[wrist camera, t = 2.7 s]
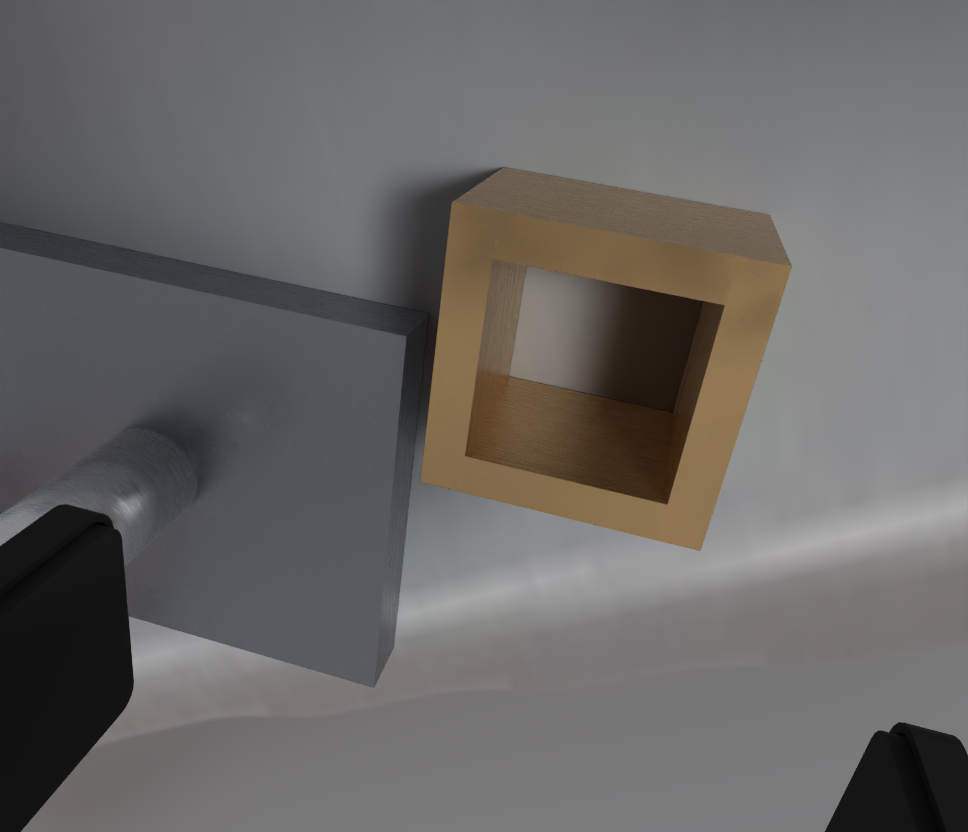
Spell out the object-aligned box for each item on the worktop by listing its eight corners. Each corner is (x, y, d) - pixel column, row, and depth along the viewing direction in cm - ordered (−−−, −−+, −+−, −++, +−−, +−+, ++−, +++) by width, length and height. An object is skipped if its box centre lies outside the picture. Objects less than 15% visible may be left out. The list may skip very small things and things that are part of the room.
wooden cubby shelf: (770, 214, 19) (791, 266, 15) (699, 451, 22) (700, 550, 18) (503, 167, 20) (451, 201, 16) (471, 399, 24) (420, 481, 19)
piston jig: (428, 313, 23) (298, 447, 15) (393, 648, 29) (287, 862, 21) (-48, 212, 25) (-361, 285, 18) (11, 539, 31) (-204, 697, 24)
